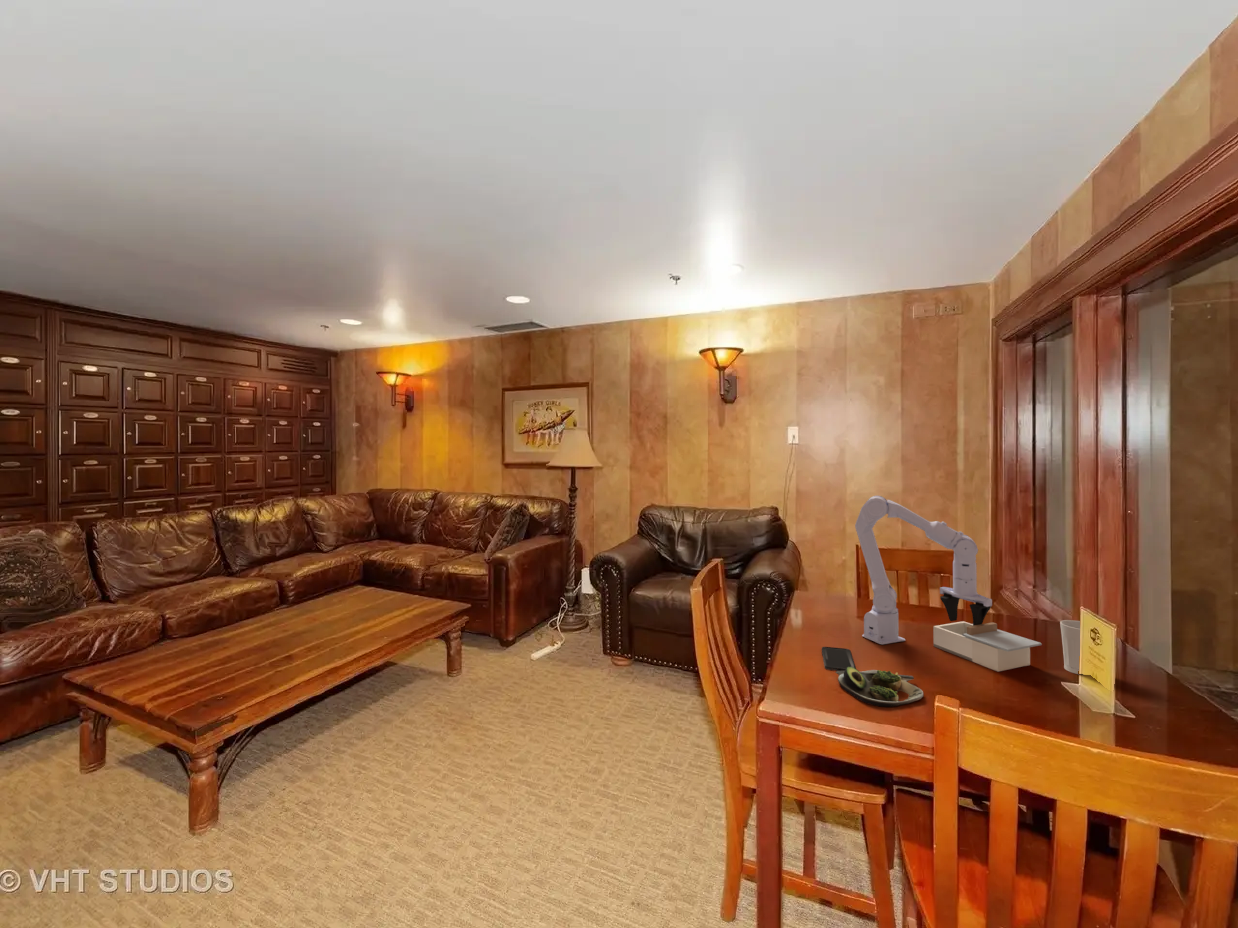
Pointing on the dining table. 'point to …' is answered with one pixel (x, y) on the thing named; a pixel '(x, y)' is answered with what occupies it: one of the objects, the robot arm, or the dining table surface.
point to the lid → (998, 637)
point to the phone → (837, 658)
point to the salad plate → (878, 686)
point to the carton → (977, 648)
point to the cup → (1071, 644)
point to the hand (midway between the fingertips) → (964, 624)
